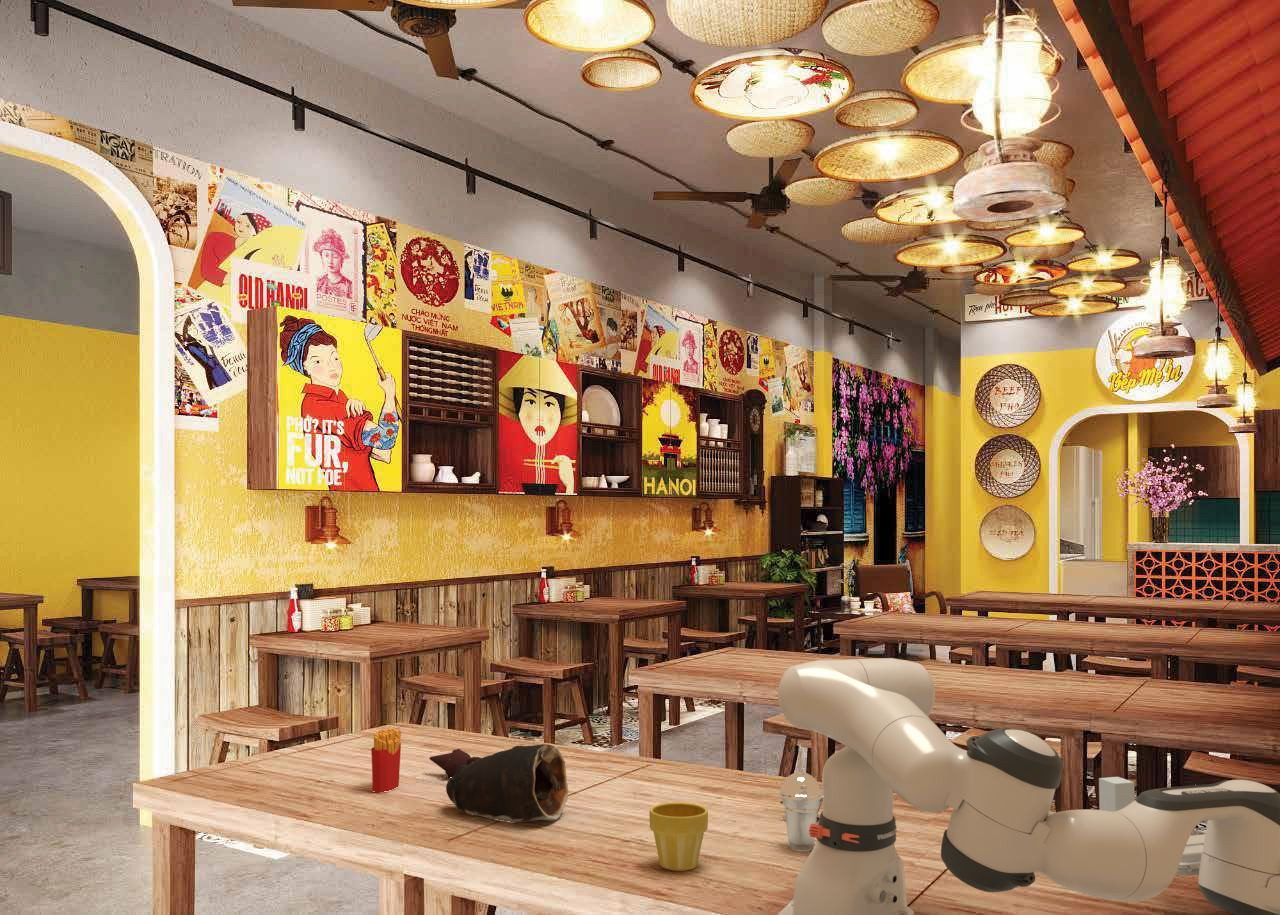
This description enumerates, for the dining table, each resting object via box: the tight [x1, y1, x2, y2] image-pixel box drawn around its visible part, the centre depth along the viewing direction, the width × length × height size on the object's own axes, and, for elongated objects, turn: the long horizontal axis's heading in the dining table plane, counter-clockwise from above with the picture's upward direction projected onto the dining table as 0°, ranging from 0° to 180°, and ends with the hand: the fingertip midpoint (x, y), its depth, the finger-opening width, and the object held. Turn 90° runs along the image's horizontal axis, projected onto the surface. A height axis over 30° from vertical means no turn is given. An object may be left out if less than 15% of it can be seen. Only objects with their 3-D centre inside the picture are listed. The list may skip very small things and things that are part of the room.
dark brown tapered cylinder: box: [445, 743, 569, 823], centre depth 220 cm, size 15×15×25 cm
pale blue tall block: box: [1098, 776, 1136, 812], centre depth 186 cm, size 4×4×16 cm
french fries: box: [370, 727, 402, 793], centre depth 240 cm, size 9×4×13 cm, turn 160°
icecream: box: [429, 748, 482, 779], centre depth 250 cm, size 7×7×15 cm
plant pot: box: [649, 801, 709, 872], centre depth 189 cm, size 10×10×10 cm
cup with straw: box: [777, 744, 823, 853], centre depth 199 cm, size 8×9×20 cm
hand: (1170, 837), depth 174 cm, fingers open, 8 cm apart
